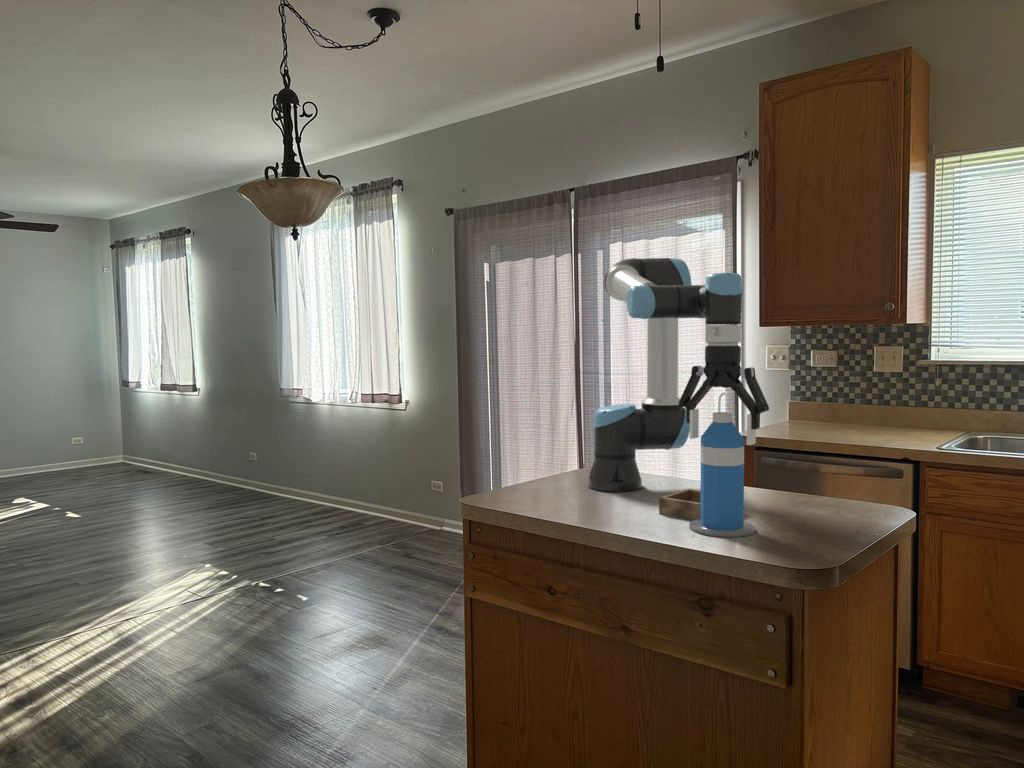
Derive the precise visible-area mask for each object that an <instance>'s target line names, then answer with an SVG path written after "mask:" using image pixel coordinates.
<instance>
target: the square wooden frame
mask: <svg viewBox="0 0 1024 768" xmlns="http://www.w3.org/2000/svg"><path fill="white" fill-rule="evenodd" d="M658 504H659V505H658V515H662V514H664V515H663V516H668V515H669V516H668V517H673V516H674V518H680V519H685V520H689V521H690V520H691V521H693V520H696V519H701V489H696V488H695V489H694V488H686V489H683V490H680V491H676V492H673V493H670V494H666V495H664V496H660V497H659V498H658Z"/></svg>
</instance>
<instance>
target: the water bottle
mask: <svg viewBox="0 0 1024 768" xmlns="http://www.w3.org/2000/svg"><path fill="white" fill-rule="evenodd" d="M700 490H701V525H702V526H703V527H704V528H709V529H713V530H728V531H734V530H738V529H741V528H744V519H745V518H744V513H745V511H744V509H745V508H744V506H745V503H744V502H745V438H744V436H743V435H742V433H741V432H740V431H739V429H738V428H737V427H736V426H735V424H734V423H733V413H732V412H726V411H717V412H715V411H714V412H712V422H711V423H710V424H709V426H708V427H706V430H705V431H704V433H703V434H702V435H701V437H700Z"/></svg>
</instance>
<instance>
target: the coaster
mask: <svg viewBox="0 0 1024 768" xmlns="http://www.w3.org/2000/svg"><path fill="white" fill-rule="evenodd" d="M688 529H689V530H690V531H691V532H694V533H696V534H699V535H703V536H707V537H712V538H713V537H714V538H715V537H716V538H727V539H728V538H742V537H743V538H744V536H745V537H749V536H752V535H754V534H755V533H756V526H755V525H754V524H752V523H750V522H749V521H744V528H741V529H738V530H734V531H728V530H713V529H709V528H704V527H703V526H702V525H701V519H696V520H691V521H689V528H688Z"/></svg>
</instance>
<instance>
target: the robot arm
mask: <svg viewBox="0 0 1024 768" xmlns="http://www.w3.org/2000/svg"><path fill="white" fill-rule="evenodd" d="M603 287H604V290H605V292H606V293H607V295H609V296H610V297H611V298H612V299H614V300H617V301H621V302H622V301H623V302H625V303H626V311H627V313H628V315H629V317H630V318H632V319H642V320H647V324H646V325H647V326H646V327H647V330H646V331H647V333H646V334H647V335H646V337H647V343H646V346H647V347H646V348H647V349H646V350H647V351H646V352H647V353H646V355H647V356H646V359H647V361H646V363H647V364H646V366H647V367H646V372H647V373H646V374H647V375H646V378H647V379H646V384H647V385H646V387H647V388H646V397H645V398H644V399H643V400H642V401H641V408H637V407H636V405H635V404H633V403H622V404H613V405H609V406H607V405H606V406H603V407H600V408H598V409H596V411H595V413H594V419H593V420H594V422H593V427H594V428H593V430H594V431H593V433H594V437H593V439H594V449H593V450H594V451H593V453H594V456H593V457H594V460H593V463H592V467H591V469H590V473H589V477H588V481H587V482H588V487H589V488H590V489H591V490H597V491H600V492H601V491H603V492H631V491H637V490H640V489H641V488H642V484H643V483H642V482H643V481H642V477H641V474H640V470H639V467H638V463H637V461H636V451H637V450H642V451H644V450H666V451H667V450H672V449H674V450H675V449H680V448H682V447H683V446H685V444H686V443H687V441H688V438H689V439H691V440H692V439H697V438H698V439H699V436H700V435H699V426H700V425H699V419H700V416H699V415H700V409H699V408H698V407H697V406H698V405H699V404H700V402H701V401H702V400H703V398H704V397H705V396H706V395H707V394H708V393H709V392H710V390H711V389H712V388H713V387H714V388H724V389H726V388H730V389H731V390H733V391H734V393H735V394H736V395H737V397H739V399H740V400H741V402H742V403H743V404H744V406H745V407H746V409H747V411H749V412H750V413H749V414H746V445H747V446H753V445H755V444H756V442H757V441H756V440H757V436H756V435H757V434H756V433H757V430H759V429H760V425H761V414H762V413H765V412H768V411H769V410H770V407H769V404H768V402H767V400H766V397H765V395H764V393H763V390H762V389H761V386H760V383H759V382H758V379H757V377H756V376H757V375H756V370H755V368H754V367H753V366H750V367H746V368H742V367H741V361H742V359H741V358H742V347H741V346H740V345H739V344H740V343H741V342H742V307H743V306H742V304H743V298H742V297H743V291H744V290H743V283H742V276H741V275H740V274H739V273H736V272H716V273H710V274H709V273H708V275H706V278H705V284H698V285H697V284H696V285H695V284H694V285H693V284H692V277H691V272H690V269H689V267H688V265H687V263H686V262H685V261H684V260H683V259H680V258H673V257H671V258H670V257H660V258H657V257H656V258H653V257H652V258H651V257H649V258H647V257H646V258H637V257H636V258H635V257H633V258H627V259H622V260H620V261H617V262H616V263H614V264H613V265H611V266H610V267H609V268H608V270H607V271H606V272H605V274H604V278H603ZM679 319H705V333H704V334H705V335H704V336H705V339H704V340H705V341H704V342H705V343H706V344H707V345H706V346H705V347H704V361H705V366H702V365H694V366H692V368H691V372H690V373H691V374H690V377H689V380H688V382H687V384H686V386H685V388H684V390H683V393H682V394H681V396H680V397H679V393H678V391H679V388H678V386H679ZM703 375H704V376H705V377H706V379H704V380H703V382H702V383H701V386H700V387H699V388H698V390H697V391H696V392H695V390H696V388H697V386H698V384H699V382H700V380H701V377H702V376H703ZM741 376H743V378H744V380H745V382H746V384H747V386H748V389H749V391H750V393H751V395H750V394H749V392H748V391H747V389H746V388H745V387H744V384H743V382H742V381H741V380H740V379H739V378H741ZM693 394H694V395H693Z"/></svg>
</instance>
